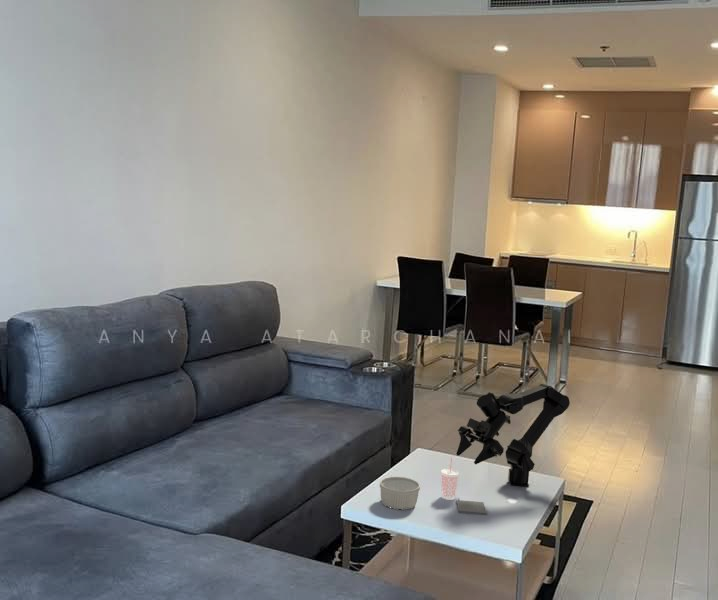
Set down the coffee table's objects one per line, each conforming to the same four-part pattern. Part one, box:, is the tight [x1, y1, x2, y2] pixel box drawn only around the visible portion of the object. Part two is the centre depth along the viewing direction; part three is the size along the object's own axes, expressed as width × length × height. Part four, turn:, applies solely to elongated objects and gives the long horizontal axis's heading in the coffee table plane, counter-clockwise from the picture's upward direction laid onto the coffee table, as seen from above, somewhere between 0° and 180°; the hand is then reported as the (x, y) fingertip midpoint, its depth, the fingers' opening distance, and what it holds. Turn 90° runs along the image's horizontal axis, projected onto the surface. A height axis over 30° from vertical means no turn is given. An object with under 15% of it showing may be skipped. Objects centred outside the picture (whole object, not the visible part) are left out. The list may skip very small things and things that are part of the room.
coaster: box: [455, 499, 488, 516], centre depth 242 cm, size 9×9×1 cm
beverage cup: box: [440, 456, 460, 501], centre depth 249 cm, size 6×6×14 cm
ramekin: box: [379, 476, 421, 510], centre depth 241 cm, size 13×13×7 cm
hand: (465, 459), depth 252 cm, fingers open, 9 cm apart
